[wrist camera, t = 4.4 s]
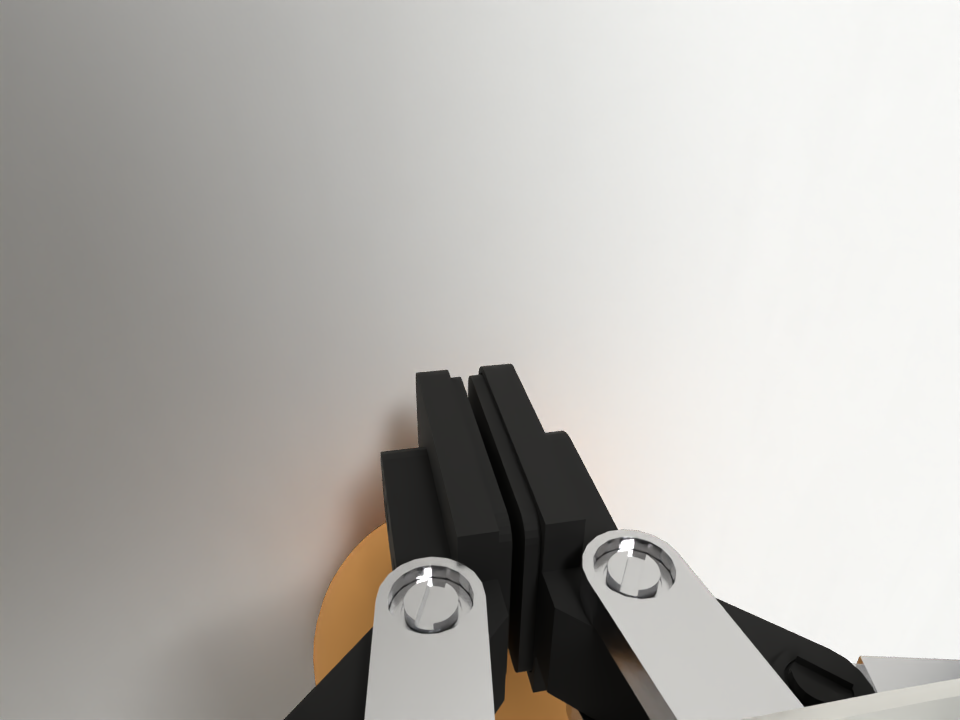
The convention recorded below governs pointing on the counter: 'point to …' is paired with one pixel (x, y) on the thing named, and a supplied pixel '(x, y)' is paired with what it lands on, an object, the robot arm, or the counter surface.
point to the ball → (352, 617)
